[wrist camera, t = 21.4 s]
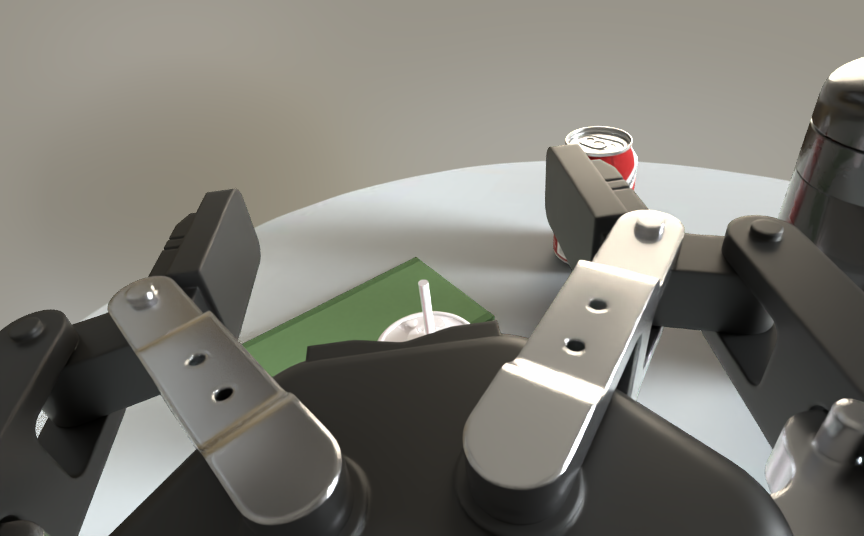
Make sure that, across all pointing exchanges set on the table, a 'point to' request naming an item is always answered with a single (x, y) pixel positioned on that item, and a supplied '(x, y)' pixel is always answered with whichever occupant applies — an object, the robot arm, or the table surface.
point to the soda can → (604, 155)
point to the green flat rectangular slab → (362, 315)
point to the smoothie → (420, 320)
